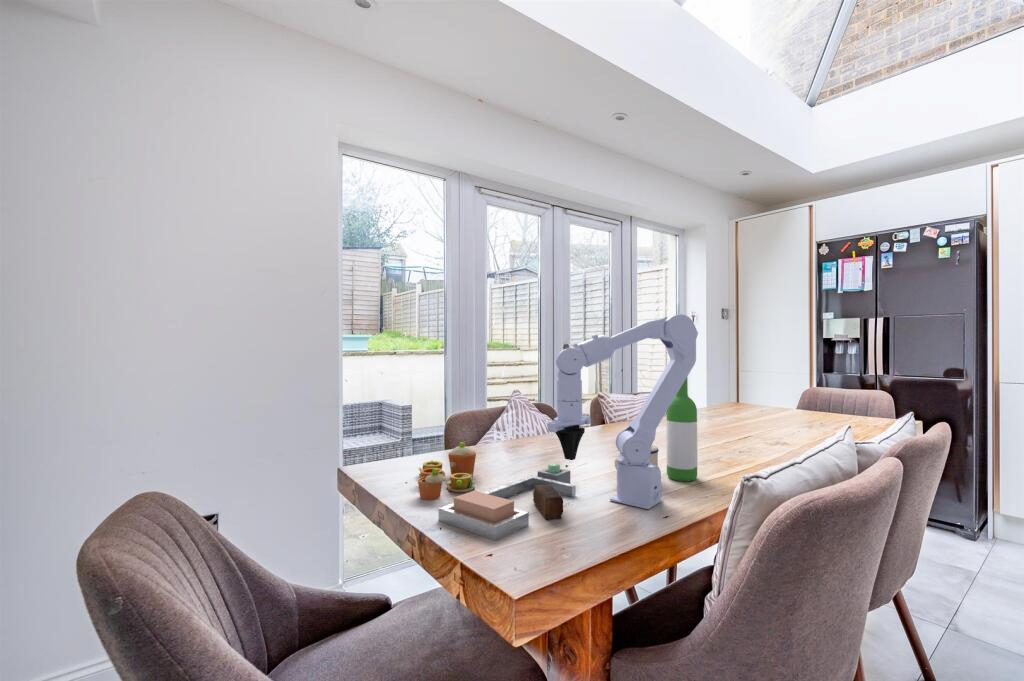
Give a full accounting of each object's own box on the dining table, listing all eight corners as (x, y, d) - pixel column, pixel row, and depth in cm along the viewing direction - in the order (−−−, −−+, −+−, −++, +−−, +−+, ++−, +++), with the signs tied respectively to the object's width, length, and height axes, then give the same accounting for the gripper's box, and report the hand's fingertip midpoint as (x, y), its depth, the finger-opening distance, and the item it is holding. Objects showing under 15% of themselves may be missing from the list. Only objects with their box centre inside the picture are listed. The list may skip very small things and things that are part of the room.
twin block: (474, 513, 102) (474, 490, 102) (514, 526, 95) (514, 501, 95) (453, 522, 98) (453, 497, 98) (494, 535, 91) (494, 509, 91)
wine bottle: (702, 478, 128) (702, 365, 128) (688, 484, 122) (688, 367, 123) (675, 472, 133) (675, 365, 134) (661, 478, 128) (660, 366, 128)
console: (570, 484, 123) (570, 470, 123) (557, 489, 118) (557, 475, 118) (551, 479, 127) (551, 466, 127) (537, 485, 122) (537, 471, 122)
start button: (562, 480, 123) (562, 464, 123) (555, 482, 120) (555, 466, 120) (552, 478, 124) (552, 462, 125) (545, 480, 122) (545, 465, 122)
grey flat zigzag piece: (585, 498, 112) (585, 487, 112) (495, 540, 88) (495, 526, 88) (532, 485, 122) (532, 475, 122) (438, 520, 98) (438, 508, 98)
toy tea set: (420, 473, 135) (419, 438, 135) (475, 471, 137) (475, 437, 137) (410, 504, 109) (410, 461, 109) (479, 501, 111) (479, 459, 111)
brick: (564, 519, 99) (564, 496, 99) (545, 521, 98) (545, 498, 98) (549, 503, 109) (549, 482, 109) (532, 504, 108) (532, 483, 108)
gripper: (572, 396, 119) (573, 451, 119) (536, 402, 108) (536, 462, 108) (597, 398, 114) (598, 455, 114) (562, 404, 103) (562, 467, 103)
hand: (570, 459), depth 111 cm, fingers closed
